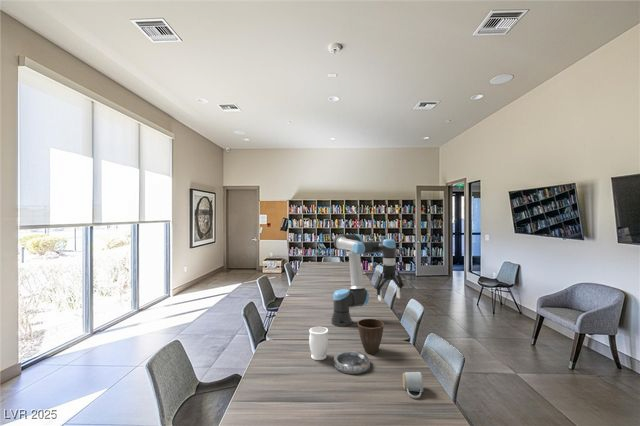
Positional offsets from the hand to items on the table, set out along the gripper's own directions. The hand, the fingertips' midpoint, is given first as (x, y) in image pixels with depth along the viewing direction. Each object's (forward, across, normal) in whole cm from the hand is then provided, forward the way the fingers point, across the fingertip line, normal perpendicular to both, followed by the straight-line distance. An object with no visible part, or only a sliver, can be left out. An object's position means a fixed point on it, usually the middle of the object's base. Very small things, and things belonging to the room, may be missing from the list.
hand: (389, 299), depth 180 cm
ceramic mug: (+27, -20, -46) cm, 57 cm away
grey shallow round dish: (+27, -34, -15) cm, 46 cm away
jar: (+27, -47, -1) cm, 54 cm away
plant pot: (+27, -16, -5) cm, 32 cm away
